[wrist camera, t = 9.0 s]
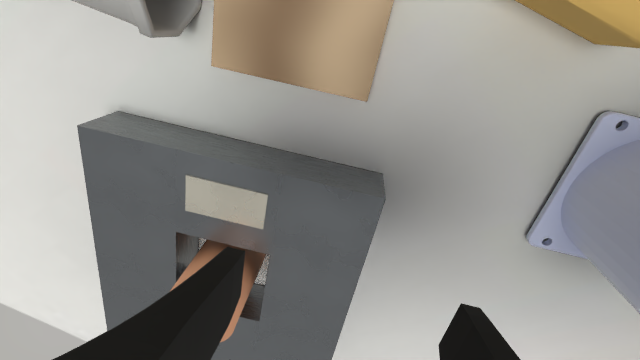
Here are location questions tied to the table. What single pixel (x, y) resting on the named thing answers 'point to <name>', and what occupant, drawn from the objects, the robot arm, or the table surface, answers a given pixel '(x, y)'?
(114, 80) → the table surface
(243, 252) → the robot arm
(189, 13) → the tube
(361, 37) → the tan square tile
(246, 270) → the peg
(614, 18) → the rubber stamp
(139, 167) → the grey square slab
